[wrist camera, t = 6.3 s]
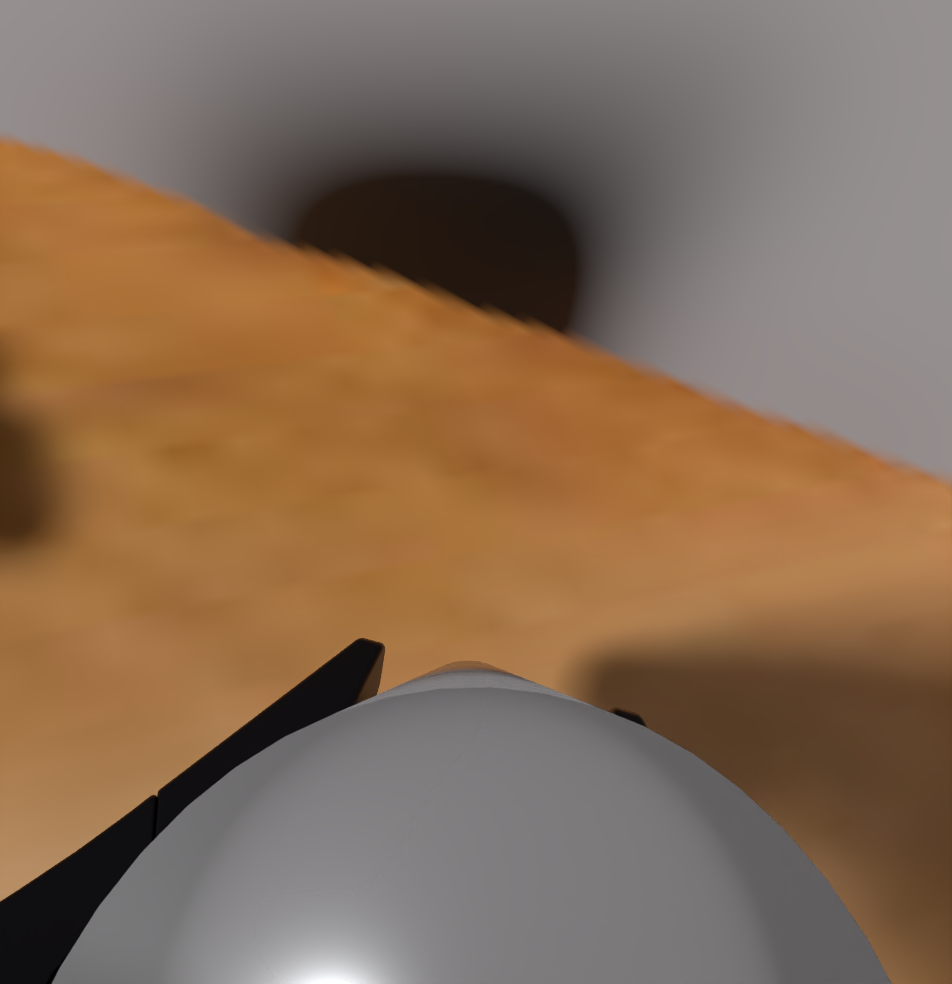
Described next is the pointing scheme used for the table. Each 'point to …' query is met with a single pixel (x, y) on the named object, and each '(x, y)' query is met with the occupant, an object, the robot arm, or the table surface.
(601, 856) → the axle
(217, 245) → the table surface
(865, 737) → the table surface
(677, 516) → the table surface
